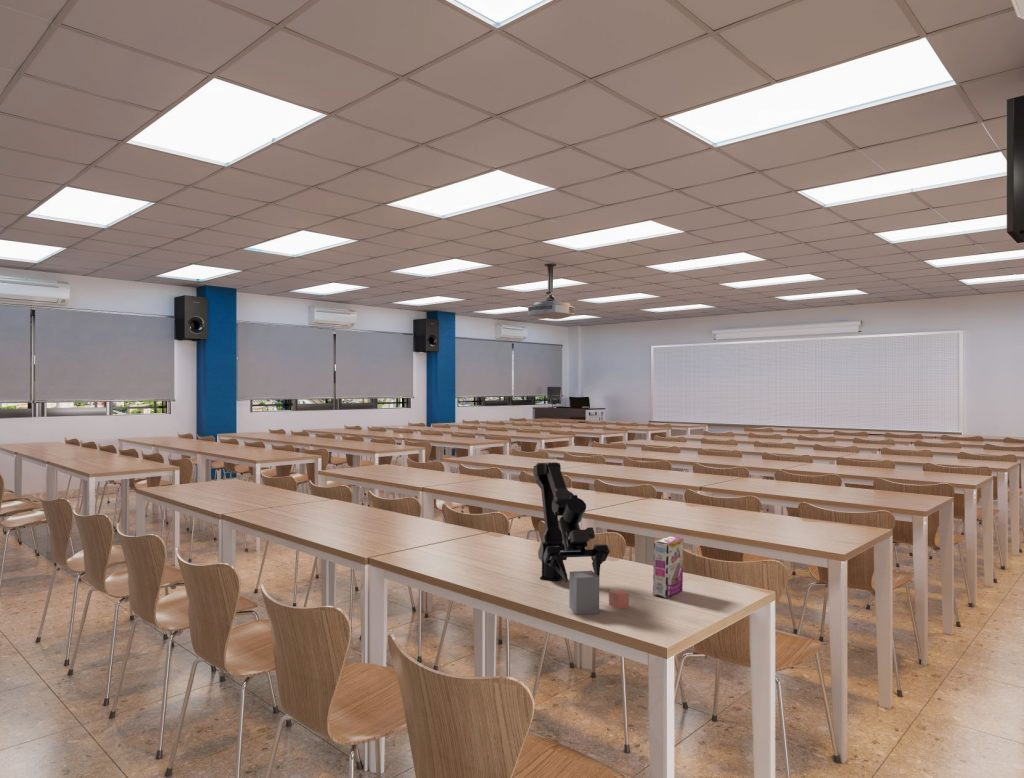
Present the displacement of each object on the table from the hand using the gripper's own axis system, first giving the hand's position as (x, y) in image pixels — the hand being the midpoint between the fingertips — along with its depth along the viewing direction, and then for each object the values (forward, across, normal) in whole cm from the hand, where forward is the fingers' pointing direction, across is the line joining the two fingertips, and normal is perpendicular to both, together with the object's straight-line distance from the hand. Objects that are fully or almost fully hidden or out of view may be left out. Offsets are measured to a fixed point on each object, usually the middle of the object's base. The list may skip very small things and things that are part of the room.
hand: (582, 580), depth 180 cm
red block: (+5, +11, +6) cm, 14 cm away
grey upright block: (+7, 0, +4) cm, 8 cm away
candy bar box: (-1, +31, +12) cm, 33 cm away
